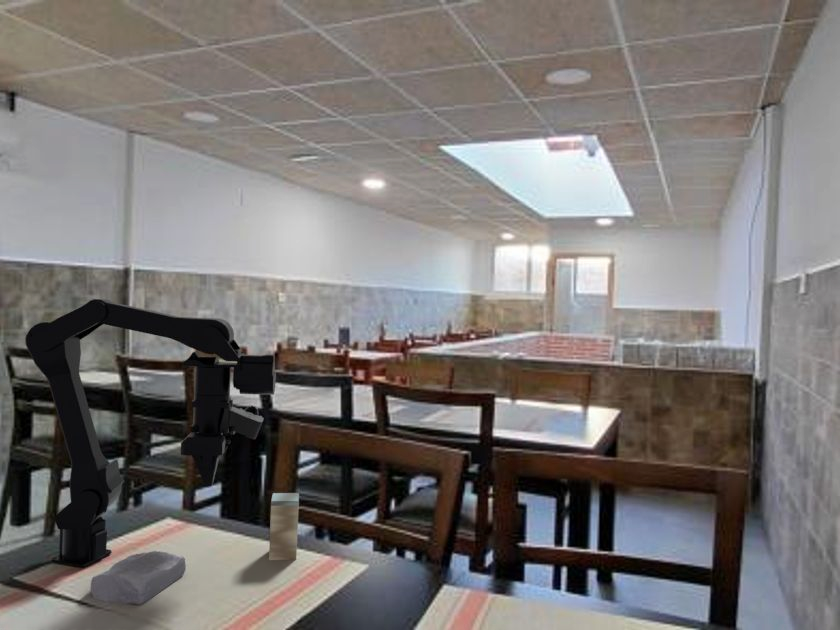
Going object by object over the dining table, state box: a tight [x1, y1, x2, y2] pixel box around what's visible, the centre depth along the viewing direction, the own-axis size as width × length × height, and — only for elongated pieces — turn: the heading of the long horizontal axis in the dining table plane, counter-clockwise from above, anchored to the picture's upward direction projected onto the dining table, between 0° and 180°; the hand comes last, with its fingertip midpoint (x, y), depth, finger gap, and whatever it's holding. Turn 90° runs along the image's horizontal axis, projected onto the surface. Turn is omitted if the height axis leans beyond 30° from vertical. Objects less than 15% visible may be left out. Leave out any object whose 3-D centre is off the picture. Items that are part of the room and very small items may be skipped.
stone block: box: [90, 550, 187, 606], centre depth 97 cm, size 12×5×10 cm
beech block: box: [268, 492, 300, 561], centre depth 111 cm, size 4×4×10 cm
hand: (208, 485), depth 109 cm, fingers closed
